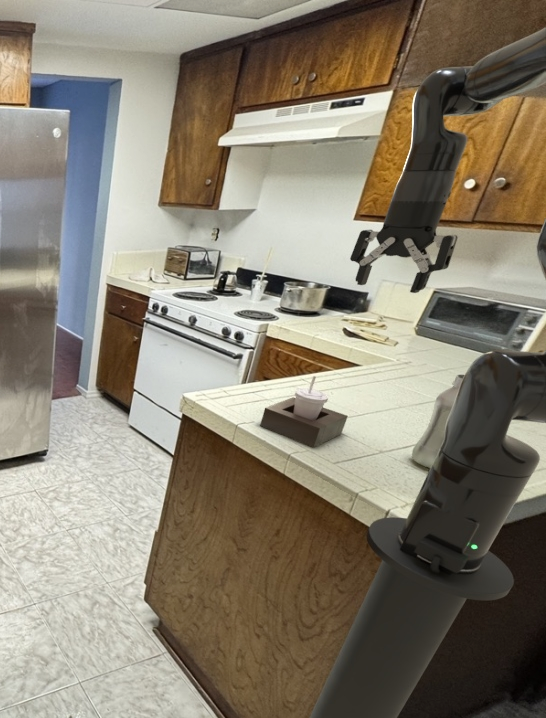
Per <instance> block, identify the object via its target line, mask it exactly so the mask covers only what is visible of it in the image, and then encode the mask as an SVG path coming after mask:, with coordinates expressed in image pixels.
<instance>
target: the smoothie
mask: <svg viewBox="0 0 546 718" xmlns="http://www.w3.org/2000/svg"><path fill="white" fill-rule="evenodd" d="M316 378H317V376H316V375H313V376H312V378H311V382H310V385H309V388H298V389H296V390H295V393H294V396H295V398H296V399H295V406H294V413H293V414H296V415H298V416H301V417H304V418H307V419H309V420H312V421H315V420H316V419H317V417H318V415H319V413H320V411H321V409H322V407H323V408H324V406H325V404H326V403H328V401H329V395H327V394H326V393H324V392H322V391H319V390H315V389H313V387H314V384H315V381H316Z"/></svg>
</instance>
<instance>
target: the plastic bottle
mask: <svg viewBox="0 0 546 718" xmlns="http://www.w3.org/2000/svg"><path fill="white" fill-rule="evenodd" d="M464 375H465V374H457V375H456V376H455V378H454V380H453V382H452V384H451V385H452V386H451V387H450V388H449V387H448V388H447V389H445V390H444V391H442V392H440V393H439V395H437V396H436V398H435V400H434V404H433V408H432V414H431V416H430V419H429V422H428V425H427V427H426V429H425V430H424V432H423V434H422V435H421V437H420V439H419V440H418V441H417V442H416V444H415V445H414V447H413V448H412V452H411V457H412V459H413V461H414V462H416V463H417V464H418V465H420V466H422V467H425V468H428V469H430V468H431V466H432V464H433V462H434V460H435V458H436V456H437V454H438V452H439V449H440V447H441V445H442V443H443V440H444V436H445V426H446V422H447V419H448V416H449V414H450V411H451V409H452V406H453V404H454V401H455V398H456V396H457V393H458V390H459V387H460V385H461V382H462V380H463V377H464Z"/></svg>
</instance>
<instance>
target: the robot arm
mask: <svg viewBox="0 0 546 718" xmlns="http://www.w3.org/2000/svg"><path fill="white" fill-rule="evenodd" d="M545 84H546V26H545V27H543V28H541V29H539V30H537V31H536V32H534V33H532V34H529V35H528V36H525V37H523V38H521V39H518V40H517V41H514V42H512V43H510V44H507V45H505V46H503V47H500V48H499V49H497V50H495V51H492V52H491V53H489V54H487V55H486V56H483V57H482V58H481V59H480V60H478V61H477V62H476V63H474V65H470V66H469V65H468V66H452V67H450V66H449V67H442V68H438V69H436V70H434V71H432V72H431V73H430V74H429V75H428V76H426V77H425V78H424V79H423V81H422V82H421V83H420V84H419V86H418V88H417V89H416V91H415V94H414V96H413V100H412V127H411V128H412V129H411V144H410V149H409V152H408V155H407V158H406V161H405V164H404V166H403V170H402V172H401V175H400V178H399V179H398V181H397V183H396V185H395V189H394V191H393V194H392V196H391V197H392V198H391V200H390V203H389V206H388V209H387V212H386V215H385V217H384V221H383V224H382V227H381V229H380V230H379V231H377V230H376V231H375V230H373V229H363V230H361V231H360V232H359V235H358V237H357V239H356V242H355V245H354V247H353V249H352V252H351V254H350V258H349V259H350V261H351V262H354V263H357V264H359V267H358V269H357V273H356V276H355V282H357V283H356V285H357V286H366V284H367V282H368V280H369V277H370V273H371V271H372V267H373V263H374V262H376V261H377V260H379V259H380V258H382V257H383V256H386V257H395V256H397V257H399V258H411V259H412V261H413V262H414V263H415V264H416V266H417V268H418V270H419V271H418V272H416V275H415V277H414V279H413V282H412V285H411V287H410V289H409V293H412V294H416V293H417V294H418V293H419V292H420V291H423V290H424V289H425V288H426V286H427V285H428V282H429V279H430V276H431V274H432V273H433V272H437V271H442V270H447V269H448V268H449V266H450V263H451V260H452V257H453V254H454V250H455V248H456V244H457V242H458V238H459V237H458V235H456V234H448V235H437V228H438V225H439V224H440V221H441V218H442V214H443V213H444V210H445V208H446V205H447V202H448V199H449V198H450V197H451V194H452V189H453V186H454V183H455V178H456V174H457V170H458V168H459V165H460V163H461V161H462V157H463V154H464V152H465V149H466V146H467V145H468V135H467V134H466V133H463V132H460V131H456V130H450V129H448V128H446V125H445V120H444V117H463V116H472V115H476V114H477V115H478V114H480V113H485V112H486V111H488V110H490V109H492V108H493V107H494V106H496V105H498V104H499V103H501V102H502V101H503V100H505V99H508V98H512V97H515V96H517V95H521V94H523V93H526V92H529V91H531V90H534V89H536V88H539V87H540V86H543V85H545ZM375 239H376V240H377V243H378V246H377V247H376V248H375V249H373V250H372V251H370V252H369V254H368V255H366V252H367V249H368V247H369V245H370V243H372V242H373V241H374V240H375ZM433 243H435V244H436V248H438V253H437V256H436V259H435V262H434V263H433V262H432V259H431V255H430V253H429V252H428V249H427V248H428V247H429V246H431V245H432V244H433ZM535 246H536V247H535V250H536V251H535V253H536V257H537V262H538V265H539V267H540V270H541V272H542V275H543V277H544V280H545V281H546V218H545V219H544V221H543V223H542V227H541V230H540V232H539V235H538V237H537V241H536V245H535ZM365 255H366V256H365ZM463 375H464V377H463V380H462V382H461V385H460V387H459V390H458V393H457V396H456V398H455V401H454V404H453V406H452V409H451V411H450V414H449V416H448V419H447V422H446V426H445V436H444V440H443V443H442V445H441V447H440V449H439V452H438V454H437V456H436V458H435V460H434V462H433V464H432V466H431V468H429V471H428V473H427V475H426V476H425V479H424V481H423V483H422V486H421V488H420V490H419V491H418V493H417V496H416V498H415V500H414V502H413V505H412V507H411V509H410V511H409V513H408V515H407V517H406V518H407V520H406V522H405V524H404V526H403V528H402V530H401V531H400V533H399V535H398V542H399V544H400V545H401V547H400V550H401V551H403V552H405V553H407V554H409V555H411V556H413V557H415V558H416V559H418V560H420V561H422V562H424V563H426V564H428V565H430V568H431V570H432V572H434V573H439V570H440V571H442V572H444V573H446V574H449V575H451V574H453V573H460V574H470V573H474V572H476V571H478V569H479V568H480V566H481V562H482V560H483V559H484V557H485V555H486V553H487V552H488V551H490V548H491V546H492V544H493V543H494V541H495V539H496V538H497V536H498V534H499V533H500V530H501V529H502V527H503V525H504V524H505V522H506V521H507V518H508V516H509V515H510V513H511V511H512V510H513V508H514V506H515V504H516V502H517V501H518V499H519V497H520V496H521V495H522V492H523V491H524V489H525V487H526V485H527V484H528V483H529V481H530V478H531V477H532V475H533V474H534V473H535V470H536V469H537V467H538V465H539V463H540V460H541V456H540V453H539V452H538V451H537V450H536V449H535V448H534V447H533V446H531V445H529V444H528V443H526V442H524V441H522V440H520V439H518V438H515V437H513V436H510V435H508V431H509V429H510V425H511V423H512V421H519V422H530V423H539V424H540V423H541V424H546V350H545V351H544V352H540V351H522V350H521V351H520V350H504V349H503V350H501V349H499V350H490V351H487V352H484V353H483V354H480V355H479V356H478V357H477V358H475V359H474V361H472V363H471V364H470V365H469V367H468V368H467V370H466V371H465V373H464V374H463Z"/></svg>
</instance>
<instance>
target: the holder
mask: <svg viewBox="0 0 546 718" xmlns="http://www.w3.org/2000/svg"><path fill="white" fill-rule="evenodd" d="M295 399H296V397H294V396H293V397H290V398H287V399H285V400H282V401H280V402H277V403H274V404H272V405H269V406H266V407H265V408H264V411H263V413H262V416H261V417H262V418H261V421H260V424H259V426H260V427H262V428H264V429H267V430H270V431H272V432H273V433H276V434H278V435H281V436H284V437H286V438H289V439H291V440H293V441H295V442H296V441H297V442H298V443H301V444H303V445H306V446H309V447H310V448H316V447H318V446H320V445H322V444H324V443H326V442H328V441H330V440H332V439H334V438H337V437H339V436H341V435H342V434H343V430H344V428H345V425H346V422H347V419H348V417H349V416H348V415H346V414H344V413H341V412H338V411H335V410H332V409H329V408H326V407H324V406H323V407H322V409H321V411H320V413H319V415H318V417H317V419H316V420H315V421H312V420H309V419H307V418H304V417H301V416H298V415H296V414H293V413H294V406H295Z"/></svg>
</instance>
